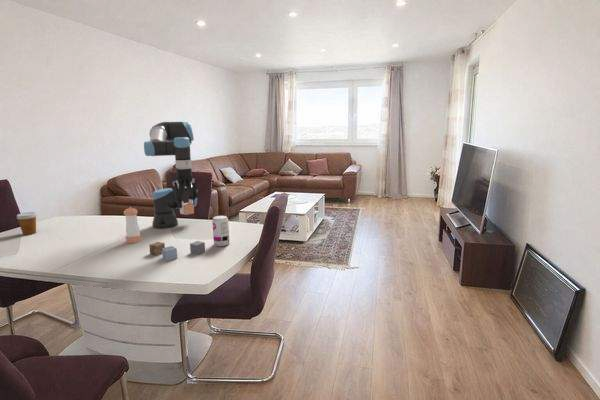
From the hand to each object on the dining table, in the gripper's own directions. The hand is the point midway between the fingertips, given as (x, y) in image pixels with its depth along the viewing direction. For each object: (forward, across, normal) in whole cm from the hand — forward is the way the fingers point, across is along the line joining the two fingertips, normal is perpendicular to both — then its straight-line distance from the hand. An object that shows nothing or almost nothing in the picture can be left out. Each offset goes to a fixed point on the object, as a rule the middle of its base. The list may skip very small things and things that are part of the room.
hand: (187, 212), depth 183 cm
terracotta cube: (0, 0, 0) cm, 0 cm away
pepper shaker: (+18, -15, +30) cm, 38 cm away
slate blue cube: (+18, -17, -9) cm, 26 cm away
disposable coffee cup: (+18, -46, +94) cm, 106 cm away
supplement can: (+18, +11, -13) cm, 25 cm away
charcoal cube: (+18, -4, -13) cm, 22 cm away
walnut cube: (+18, -17, +2) cm, 25 cm away
